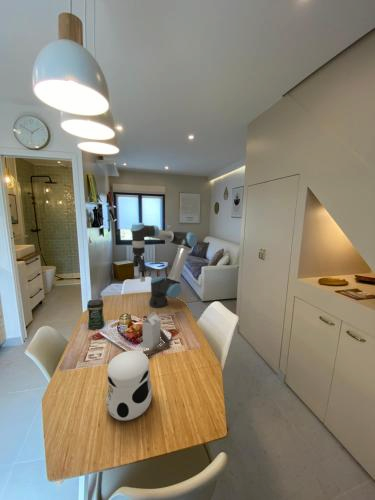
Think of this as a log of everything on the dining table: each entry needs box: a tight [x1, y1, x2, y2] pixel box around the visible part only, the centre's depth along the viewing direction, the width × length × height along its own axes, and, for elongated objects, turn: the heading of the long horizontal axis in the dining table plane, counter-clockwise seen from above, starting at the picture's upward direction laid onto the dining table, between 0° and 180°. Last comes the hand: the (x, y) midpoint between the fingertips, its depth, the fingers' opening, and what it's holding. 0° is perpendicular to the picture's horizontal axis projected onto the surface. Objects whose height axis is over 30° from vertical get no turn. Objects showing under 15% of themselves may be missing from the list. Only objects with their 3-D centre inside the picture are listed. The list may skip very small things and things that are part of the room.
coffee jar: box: [86, 299, 105, 330], centre depth 133 cm, size 10×8×19 cm
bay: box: [137, 327, 171, 356], centre depth 116 cm, size 15×14×5 cm
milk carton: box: [141, 311, 161, 349], centre depth 115 cm, size 7×7×19 cm
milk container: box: [105, 350, 153, 422], centre depth 79 cm, size 17×17×18 cm
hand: (139, 278), depth 135 cm, fingers open, 13 cm apart
